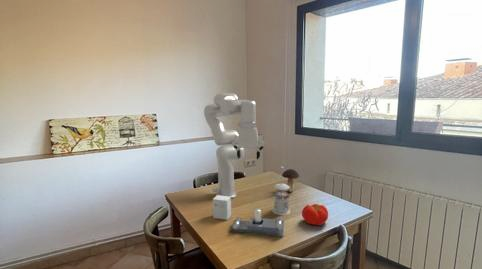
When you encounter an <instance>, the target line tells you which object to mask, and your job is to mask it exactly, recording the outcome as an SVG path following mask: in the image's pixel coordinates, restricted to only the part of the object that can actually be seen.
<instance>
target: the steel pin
mask: <svg viewBox="0 0 482 269" xmlns="http://www.w3.org/2000/svg"><path fill="white" fill-rule="evenodd" d="M253 211H254V218H255V224H258V225H261V218H262V210H261V209H260V208H255V209H254V210H253Z"/></svg>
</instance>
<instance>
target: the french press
mask: <svg viewBox="0 0 482 269" xmlns="http://www.w3.org/2000/svg"><path fill="white" fill-rule="evenodd" d="M284 169H285V167H284V166H280V170H284ZM273 187H274V189H275V190H277V192H275V193H274V201H273V202H274V204H273V207H274V208H272V210H271V211H272V213H273V214H276V215H277V216H287V215H289V214H290V213H291V210H290V202H289V201H290V197H289V193H288V192H287V191H288V189H289V186H288V185H287V184H285V183H276V184H275V185H274V186H273Z"/></svg>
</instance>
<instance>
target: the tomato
mask: <svg viewBox="0 0 482 269" xmlns="http://www.w3.org/2000/svg"><path fill="white" fill-rule="evenodd" d="M301 216H302V219H303V220H304V221H305V222H306V223H307V224H309V225H313V226H314V225H316V226H321V225H323V224H325V223H326V221H327V220H328V219H329V212H328V209H327V208H326V206H325V205H324V204H317V203H313V204H311V205H309V204H306V205H305V206H304V207H303V208H302V211H301Z"/></svg>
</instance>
